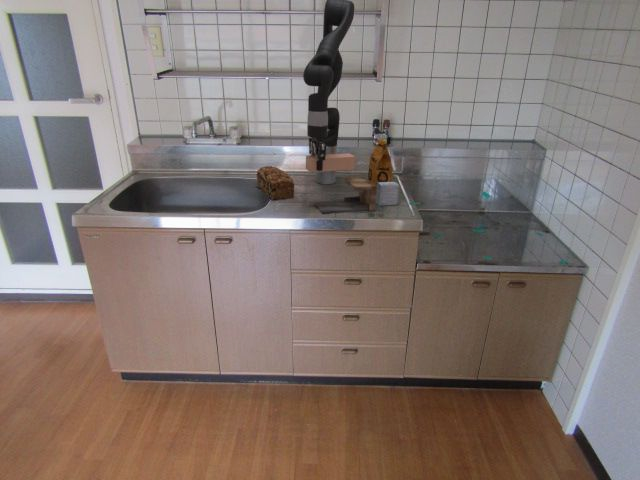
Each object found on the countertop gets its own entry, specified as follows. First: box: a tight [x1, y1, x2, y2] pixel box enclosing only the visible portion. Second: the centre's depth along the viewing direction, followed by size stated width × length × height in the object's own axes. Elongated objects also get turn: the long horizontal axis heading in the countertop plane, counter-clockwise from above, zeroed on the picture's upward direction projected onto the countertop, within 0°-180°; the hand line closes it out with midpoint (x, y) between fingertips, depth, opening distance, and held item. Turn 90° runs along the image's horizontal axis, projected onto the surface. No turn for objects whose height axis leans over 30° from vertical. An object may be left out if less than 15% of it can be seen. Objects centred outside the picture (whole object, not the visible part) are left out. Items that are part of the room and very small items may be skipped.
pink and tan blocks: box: [314, 176, 376, 215], centre depth 172 cm, size 12×21×10 cm, turn 108°
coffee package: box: [367, 138, 393, 193], centre depth 190 cm, size 10×12×22 cm
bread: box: [256, 165, 295, 201], centre depth 186 cm, size 19×11×10 cm, turn 26°
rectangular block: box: [305, 152, 356, 173], centre depth 169 cm, size 6×18×5 cm, turn 109°
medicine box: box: [375, 181, 400, 207], centre depth 178 cm, size 8×4×9 cm, turn 102°
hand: (316, 168), depth 168 cm, fingers closed on rectangular block, 6 cm apart
